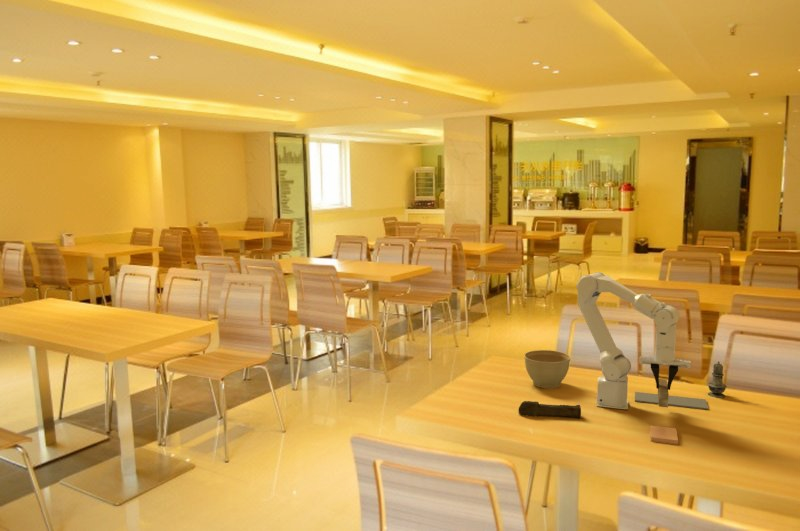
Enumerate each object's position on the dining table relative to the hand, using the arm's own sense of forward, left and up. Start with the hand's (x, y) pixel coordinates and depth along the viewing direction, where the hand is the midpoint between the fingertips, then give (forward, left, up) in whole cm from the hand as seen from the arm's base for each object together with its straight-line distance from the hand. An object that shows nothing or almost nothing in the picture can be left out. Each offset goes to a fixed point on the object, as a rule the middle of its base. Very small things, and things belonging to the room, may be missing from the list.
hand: (663, 388), depth 189 cm
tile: (0, -13, -8) cm, 15 cm away
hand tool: (-33, -13, -9) cm, 36 cm away
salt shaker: (+18, +27, -9) cm, 34 cm away
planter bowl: (-38, +18, -9) cm, 43 cm away
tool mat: (+3, +15, -9) cm, 18 cm away
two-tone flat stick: (0, 0, -3) cm, 3 cm away
